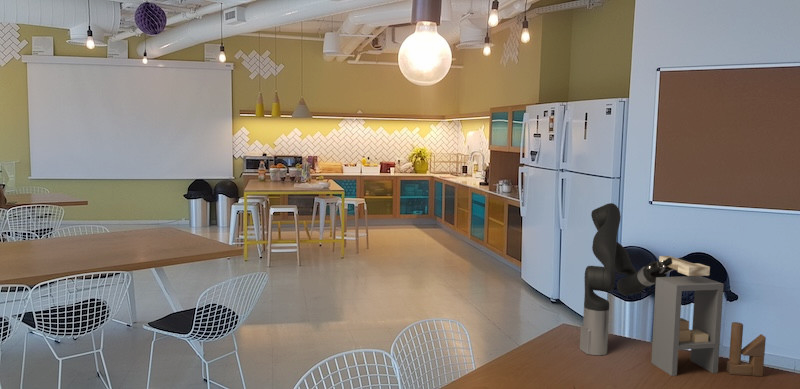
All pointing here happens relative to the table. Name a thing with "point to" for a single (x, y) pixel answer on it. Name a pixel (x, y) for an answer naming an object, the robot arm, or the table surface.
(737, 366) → the wooden block
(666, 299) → the frame
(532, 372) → the table surface
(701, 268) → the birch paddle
